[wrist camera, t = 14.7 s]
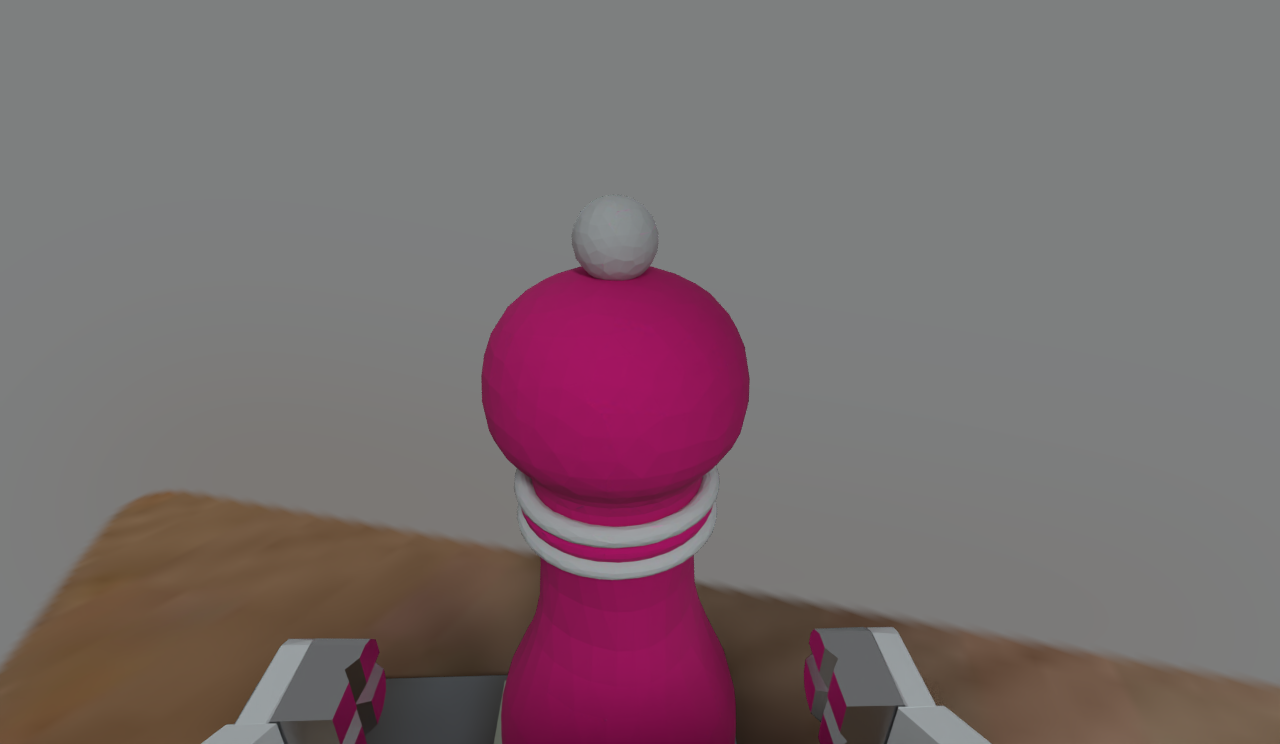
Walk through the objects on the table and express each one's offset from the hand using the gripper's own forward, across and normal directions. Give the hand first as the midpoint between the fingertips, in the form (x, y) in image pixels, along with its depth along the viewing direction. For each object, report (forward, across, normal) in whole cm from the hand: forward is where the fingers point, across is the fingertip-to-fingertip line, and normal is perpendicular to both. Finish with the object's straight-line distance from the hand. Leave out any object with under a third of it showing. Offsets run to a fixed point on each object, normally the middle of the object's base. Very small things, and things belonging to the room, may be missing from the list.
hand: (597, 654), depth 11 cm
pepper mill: (+4, 0, +12) cm, 13 cm away
